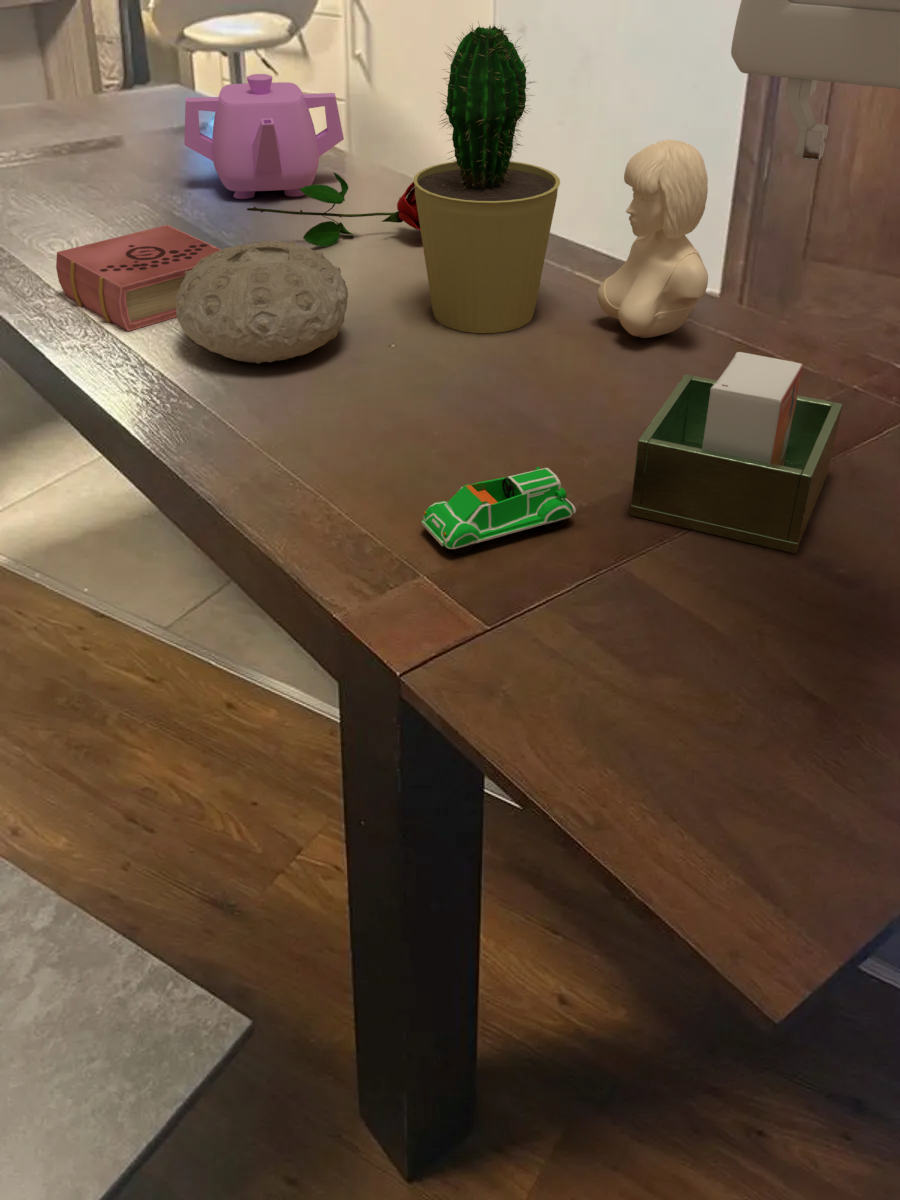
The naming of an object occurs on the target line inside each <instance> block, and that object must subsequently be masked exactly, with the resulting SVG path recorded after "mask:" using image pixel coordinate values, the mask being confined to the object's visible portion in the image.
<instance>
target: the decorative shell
mask: <svg viewBox="0 0 900 1200" xmlns="http://www.w3.org/2000/svg"><path fill="white" fill-rule="evenodd" d="M341 273H342V270H341V268H340V267H339V266H335V265H334V264H333V263H332V262H331V261H330V260H329V259H327V257H325V256H324V252H323V251H317V250H313V249H311V248H309V247H306V246H303V245H296V244H295V242H294V241H289V242H287V241H279V240H268V241H266V240H262V241H260V242H259V241H258V242H253V243H246V244H242V245H241V244H239V245H236V246H234V247H233V246H232V247H231V246H230V247H229V246H228V247H224V248H222V249H221V250H220V251H217V252H214V253H212V254H210V255H208V256H206V257H205V258H202V259H201V260H200V261H199V262H198V263H197V264H196V266H195V267H194V268H193V269H192V270H189V271H185V278H184V280H183V282H182V283H181V286H180V289H179V291H178V294H177V299H176V305H177V307H176V315H177V317H176V318H177V322H178V323H179V326H180V327H181V329H182V330H183V332H184V333H185V335H186V336H188V337H189V339H191V340H192V341H193V342H195V343H196V344H197V345H199V346H201V347H203V348H205V349H207V350H209V351H210V352H211V353H216V354H218V355H221V356H223V357H224V358H228V359H231V360H233V361H238V362H246V363H256V364H258V365H259V364H261V363H273V362H276V361H286V360H288V359H293V358H295V357H300V356H304V355H307V354H309V353H312V352H313V351H314V350H316V349H318V348H320V347H323V346H325V345H326V344H327V343H328V342H329V341H330V340H331V341H332V340H334V339H335V338H336V337H337V336H338V333H339V332H340V329H342V327H343V324H344V322H345V315H346V312H347V310H348V298H349V290H348V286H347V284H346V281H345V279H344V278H343V276H342V274H341Z"/></svg>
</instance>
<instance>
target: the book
mask: <svg viewBox="0 0 900 1200" xmlns="http://www.w3.org/2000/svg"><path fill="white" fill-rule="evenodd" d="M220 250H222V249H221V248H219V247H217V246H214V245H212V244H210V243H208V242H206V241H204V240H201V239H200V238H197V237H195V236H193V235H190V234H189V233H186V232H184V231H182V230H180V229H177V228H175V227H173V226H172V225H169V224H165V225H159V226H157V227H153V228H149V229H144V230H140V231H137V232H133V233H128V234H124V235H120V236H116V237H112V238H108V239H104V240H100V241H96V242H92V243H87V244H84V245H79V246H76V247H71V248H67V249H64V250H60V251H57V252H56V261H55V262H56V264H55V268H56V273H57V278H58V283H59V285H60V287H61V289H62V291H63V293H64V295H65V296H67V297H68V298H70V299H72V300H73V301H75V302H76V303H77V306H78V307H86V308H87V309H89V310H90V311H93V312H94V313H96V314H98V315H100V316H101V317H103V318H104V319H105V321H106V322H107V324H108V323H113V324H115V325H116V326H119V327H120V328H122V329H124V330H125V331H128V332H130V331H134V330H137V329H140V328H144V327H147V326H150V325H151V326H152V325H154V324H158V323H161V322H164V321H168V320H171V319H174V318H177V315H176V307H177V305H176V299H177V294H178V291H179V289H180V286H181V283H182V282H183V280H184V278H185V271H189V270H192V269H193V268H194V267H195V266H196V264H197V263H198V262H199V261H200V260H201V259H202V258H205V257H206V256H208V255H210V254H212V253H214V252H217V251H220Z"/></svg>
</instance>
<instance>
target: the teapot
mask: <svg viewBox="0 0 900 1200" xmlns="http://www.w3.org/2000/svg"><path fill="white" fill-rule="evenodd" d="M337 101H338V100H337V97H336V93H335V92H321V93H320V92H319V93H303V91H302V89H301V88H300V87H299V85H297V84H296V83H293V82H288V81H287V82H286V81H285V82H283V81H281V82H273V76H272V75H270V74H267V73H253V74H249V75H247V76H246V82H245V83H229V84H226V85H223V87H222V88H221V89H220V91H219V94H218V96H201V97H199V96H198V97H185V107H184V108H185V109H184V114H185V115H184V139H183V141H184V146H185V147H187V148H189V149H190V150H192V151H194V152H195V153H197V154H199V155H201V156H203V157H204V158H207V159H208V160H210V161H211V162H212V163H213V166H214V169H215V172H216V174H217V176H218V178H219V179H220V181H221V183H222V185H223V186H224V188H225V189H226V190H229V191H231V192H234V194H233V198H235V199H239V200H246V199H252V198H254V197H255V196H256V195H255V194H256V192H268V191H269V192H270V191H272V192H273V191H283V192H284V195H285V196H287V197H292V198H293V197H295V198H296V197H302V196H304V195H305V194H304V193H303V192H302V191H301V190H299V189H300V188H303V187H306V186H310V185H313V183H314V180H315V178H316V176H317V171H318V168H319V163H320V157H322V156H323V155H324V154H325V153H327V152H329V151H330V150H332V149H333V148H334V147H335V146H337V145H338V144H340V143H341V142H343V140H344V139H345V138H344V131H343V127H342V122H341V118H340V112H339V106H338V102H337ZM321 107H324V112H325V122H326V128H324V129H323V130H321V131H320V132H318V133H317V134H316V129H315V125H314V122H313V118H312V115H311V112H310V109H316V108H321ZM199 111H202V112H211V113H214V119H213V126H212V138H211V137H209V136H207V135H205V134H203V133H201V132H200V131H201V130H200V129H201V128H200V113H199ZM305 196H306V195H305Z"/></svg>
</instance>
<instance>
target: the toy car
mask: <svg viewBox="0 0 900 1200" xmlns="http://www.w3.org/2000/svg"><path fill="white" fill-rule="evenodd" d="M576 512H577V508H576V507H575V505H574V504H573V503H572V502H571V500H569V499H567V492H566V489H565V488H564V487H562V482H561V480H560V479H559V477H558V476H557V474H555V472H554V471H552V470H551V469H550V468H549V467H544V468H540V466H536V467H535V469H534V470H531V471H525V472H522V473H521V472H520V473H517V474H512V475H509V476H504V477H500V478H494V479H489V480H483V481H478V482H473V483H471V484H469V483H468V484H464V485H463V486H461V487H460V488H459V489H458V491H457V492H456V493H455V494H454V495H453V496H452V497H451V498H449V500H448V501H446V500H439V501H436V502H434V503H432V504H431V505H430V506H428V507H427V509H426V510H425V511H423V513H422V514H423V517H422V520H420V524H421V526H423V528H424V529H426V531H427V532H428V533H429V534H430V535H431V536H432V537H433V539H434V540H435V541H436V542H437V543H439V545H440V546H441V547H445V548H446V549H448V550H452V551H453V552H454V553H455V554H456V555H464V554H468V553H469V552H471V551H472V550H473V549H474V547H475V545H476V544H479V543H483V542H486V541H490V540H493V539H497V538H501V537H505V536H507V535H512V534H515V533H519V532H523V531H526V530H529V529H533V528H537V527H540V526H543V525H544V526H545V527H546V528H548V529H551V530H554V529H558V528H560V527H561V526H562V525H564V524H565V522H566V521H567V519H569V518H572V516H573V514H576Z"/></svg>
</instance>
